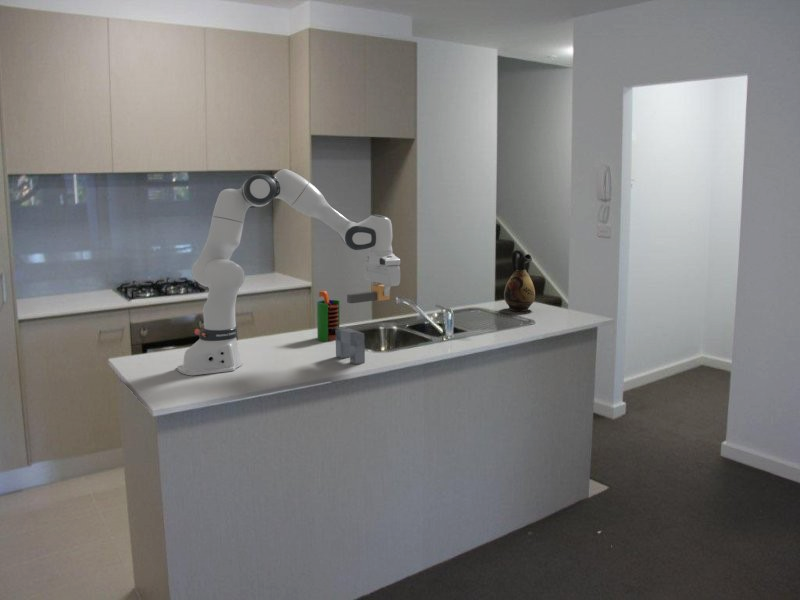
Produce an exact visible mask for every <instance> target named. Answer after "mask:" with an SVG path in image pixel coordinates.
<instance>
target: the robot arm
mask: <svg viewBox="0 0 800 600" xmlns="http://www.w3.org/2000/svg"><path fill="white" fill-rule="evenodd" d="M274 199H279V200H281V201H283V202H284V203H286V204H287V205H288V206H289V207H290V208H292V209H294V210H295V211H297V212H299V213H300V214H303V215H304V216H306V217H310V218H315V219H317V220H320V221H322V222H323V223H324V224H326V225H327V226H328V227H330V228H331V229H332V230H333V231H335V232H337V234H338V235H339V236H340V238H341V240H342V241H343V243H344V244H345V245H346V246H347V247H348V248H349V249H351V250H353V251H362V250H363V251H364V250H365V249H368V256H367V257H366V258H365V260H364V261H365V262H363V263H364V264H363V270H362V277H363V279H364V281H368V282H371V286H374V285H384V287H385V289H384V291H383V296H389V290H390V291H391V288H392V287H397V286H399V285H400V284H401V267H400V266H399V265H401V258H400V257H398V256H396V255H395V253H393V247H392V245H393V243H392V242H393V225H392V221H391V219H390V218H389V217H387V216H385V215H380V214H371V215H370V216H368V217H367V218H365V219H363V220H362V221H360V222H358V221H354V220H350V219H348V218H347V217H345V216H344V215H343V214H341V213H340V212H339V211H337V210H336V209H334V208H333V207H332V206H331V205H330V204H329V203H328V201H327V200H326V198H325V196H324V194H322V192H321V191H320V190H319V189H318V188H317V187H316V186H315V185H314V184H312V183H311V182H310V181H308V179H305V177H303V176H301V175H300V174H298V173H296V172H294V171H292V170H290V169H288V168H283V169H281V170H279V171H277V172H276V173H275V174H274V175H268V174H261V173H260V174H259V173H257V174H253V175H250V176H249V177H248V178H247V179H246V180H245V181H244V183H243V184H242V186H241V187H240V188H237V189H235V188H225V189H223V190H221V191H220V192H219V194H218V196H217V199H216V202H215V205H214V208H213V212H212V217H211V220H210V221H211V223H210V227H209V231H208V235H207V239H206V241H205V243H204V247H203V249H202V251H201V253H200V255H199V257H198V258H197V259H196V260H195V261H194V262H193V265H192V266H191V271H190V273H191V276H192V278H193V279H194V280H195V281H196V282H197V283H198V284H200V285H201V286H202V287H206V288H208V295H207V298H206V301H205V303H204V305H203V309H202V310H203V313H202V314H203V328H202V329H199V328H196V329H194V334H195V335H197V336H199V339H198V340H197V341H195V343H193V344H192V345H191V346H190V347H189V348H187V349H186V350H185V352H184V355H183V363H180V364H178V365H177V368H176V369H177V371H178V372H180V373H181V374H183V375H186V376H198V375H208V374H216V373H217V374H219V373H226V372H233V371H235V370H236V369H237V368H239V367H241V366H242V365H243V362H242V359H241V356H240V351H239V346H238V339H239V337H238V336H239V333H238V326H237V324H236V303H237V298H238V297H237V296H238V293H239V289H240V288H241V287H242V286H243V285H244V281H245V278H246V277H245V271H244V268H242V267H241V265H239V263H236V262H234V261H233V260H230V259H231V258H232V255H233V253H234V252H235V250H236V249H237V248H238V247H239V245H240V243H241V239H242V234H243V229H244V224H245V223H244V222H245V218H246V214H247V211H248V210H249V208H251V209H252V208H261V207H264V206H267V205H268V204H269V203H271V202H272V200H274Z"/></svg>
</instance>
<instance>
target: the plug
mask: <svg viewBox="0 0 800 600" xmlns="http://www.w3.org/2000/svg"><path fill="white" fill-rule="evenodd" d="M384 289H385V287H384V284H377V285H374V286H372V285H371V291H367V292H357V293H348V294H346V303H347V304H358V303H364V302H372V301H373V302H374V301H378V302H379V301H380V302H381V301H387V300H390V299H391V289H390V290H389V296H383V291H384Z"/></svg>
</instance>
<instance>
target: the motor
mask: <svg viewBox="0 0 800 600" xmlns="http://www.w3.org/2000/svg"><path fill="white" fill-rule="evenodd" d="M318 297H322V298H323V299H321V300H318V301H316V303H317V304H316V305H317V306H316V309H317V312H316V313H317V315H316V317H317V321H316V323H317V326H316V327H317V333H316V334H317V340H318V341H320V342H326V341H328V342H332V341H331V340H335V341H336V328H339V327H340V300H339V299H330V298H329V294H328V291H326V290H321V291H319V293H318Z"/></svg>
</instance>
